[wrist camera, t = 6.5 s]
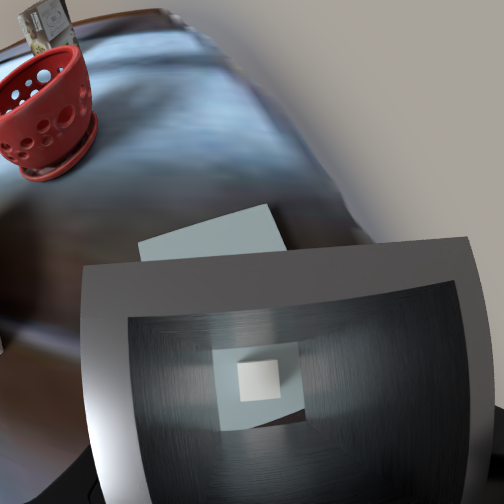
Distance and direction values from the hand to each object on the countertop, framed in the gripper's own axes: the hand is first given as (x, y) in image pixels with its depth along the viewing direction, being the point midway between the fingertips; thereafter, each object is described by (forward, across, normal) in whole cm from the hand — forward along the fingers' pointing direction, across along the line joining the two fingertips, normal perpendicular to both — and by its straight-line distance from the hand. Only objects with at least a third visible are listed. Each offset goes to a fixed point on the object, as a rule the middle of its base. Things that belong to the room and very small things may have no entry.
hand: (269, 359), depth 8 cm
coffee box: (+47, +34, -28) cm, 65 cm away
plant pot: (+26, +20, -7) cm, 34 cm away
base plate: (+12, +1, +7) cm, 14 cm away
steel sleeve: (+3, 0, +5) cm, 5 cm away
